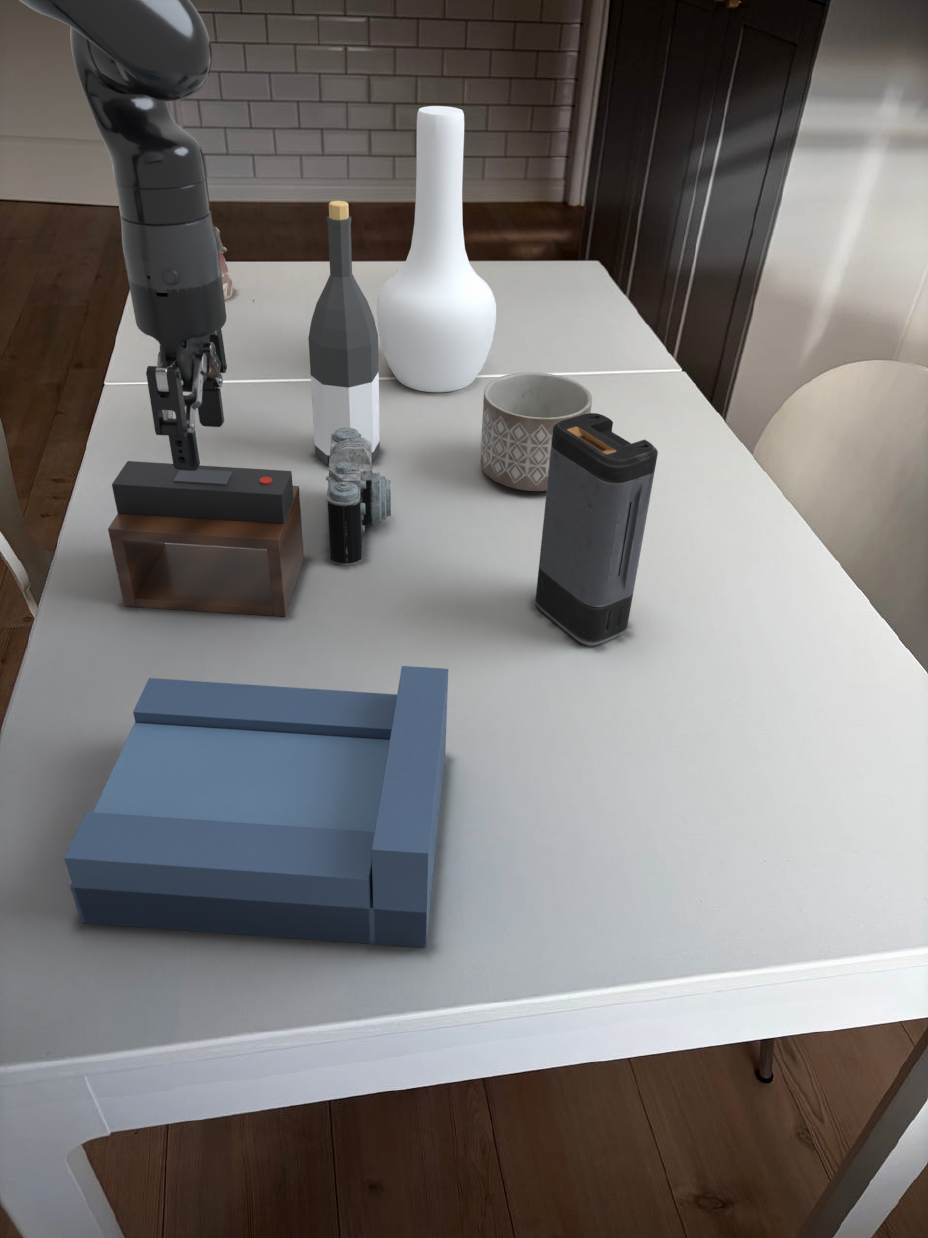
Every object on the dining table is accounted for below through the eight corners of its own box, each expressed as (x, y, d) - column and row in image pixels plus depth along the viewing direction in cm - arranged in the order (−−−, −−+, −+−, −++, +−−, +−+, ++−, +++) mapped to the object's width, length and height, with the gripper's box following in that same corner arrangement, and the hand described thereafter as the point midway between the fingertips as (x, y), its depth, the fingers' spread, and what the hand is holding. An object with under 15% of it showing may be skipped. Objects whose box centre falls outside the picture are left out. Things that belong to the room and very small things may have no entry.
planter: (462, 482, 119) (466, 402, 113) (504, 440, 129) (509, 364, 122) (560, 509, 115) (569, 427, 109) (596, 463, 125) (606, 385, 118)
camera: (391, 565, 105) (391, 482, 99) (327, 565, 104) (322, 482, 98) (390, 494, 117) (389, 416, 110) (332, 494, 116) (328, 415, 110)
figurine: (242, 295, 167) (234, 221, 160) (206, 304, 163) (197, 229, 156) (217, 284, 171) (209, 211, 164) (181, 293, 167) (171, 219, 159)
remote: (117, 513, 94) (111, 482, 92) (132, 489, 98) (127, 459, 96) (284, 524, 94) (281, 493, 92) (293, 499, 97) (291, 469, 95)
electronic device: (633, 632, 97) (667, 449, 85) (587, 652, 94) (614, 466, 82) (573, 585, 103) (596, 407, 91) (528, 602, 100) (545, 422, 88)
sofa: (81, 923, 69) (50, 827, 63) (159, 740, 83) (140, 648, 77) (426, 948, 68) (428, 853, 62) (445, 760, 82) (448, 668, 76)
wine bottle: (318, 471, 120) (303, 214, 102) (312, 440, 126) (297, 193, 108) (384, 467, 122) (381, 212, 103) (375, 437, 128) (371, 192, 110)
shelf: (124, 606, 97) (107, 528, 92) (155, 550, 105) (141, 476, 100) (285, 616, 97) (278, 539, 92) (304, 559, 105) (299, 485, 100)
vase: (500, 360, 149) (516, 102, 128) (482, 407, 136) (497, 128, 115) (392, 348, 151) (390, 92, 130) (364, 393, 138) (357, 117, 117)
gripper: (156, 241, 88) (182, 410, 97) (99, 297, 76) (135, 482, 86) (240, 245, 87) (258, 414, 97) (195, 302, 76) (220, 487, 86)
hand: (200, 446), depth 92 cm, fingers open, 8 cm apart
